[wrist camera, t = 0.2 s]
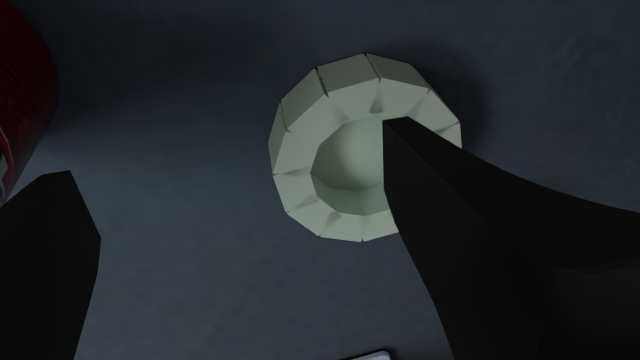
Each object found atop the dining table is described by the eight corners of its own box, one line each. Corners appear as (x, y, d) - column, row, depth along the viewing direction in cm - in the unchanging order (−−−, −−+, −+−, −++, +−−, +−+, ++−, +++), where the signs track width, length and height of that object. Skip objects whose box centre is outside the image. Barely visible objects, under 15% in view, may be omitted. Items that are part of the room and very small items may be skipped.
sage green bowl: (447, 182, 26) (466, 212, 24) (295, 224, 26) (302, 259, 24) (432, 33, 21) (455, 56, 19) (248, 86, 21) (251, 114, 19)
